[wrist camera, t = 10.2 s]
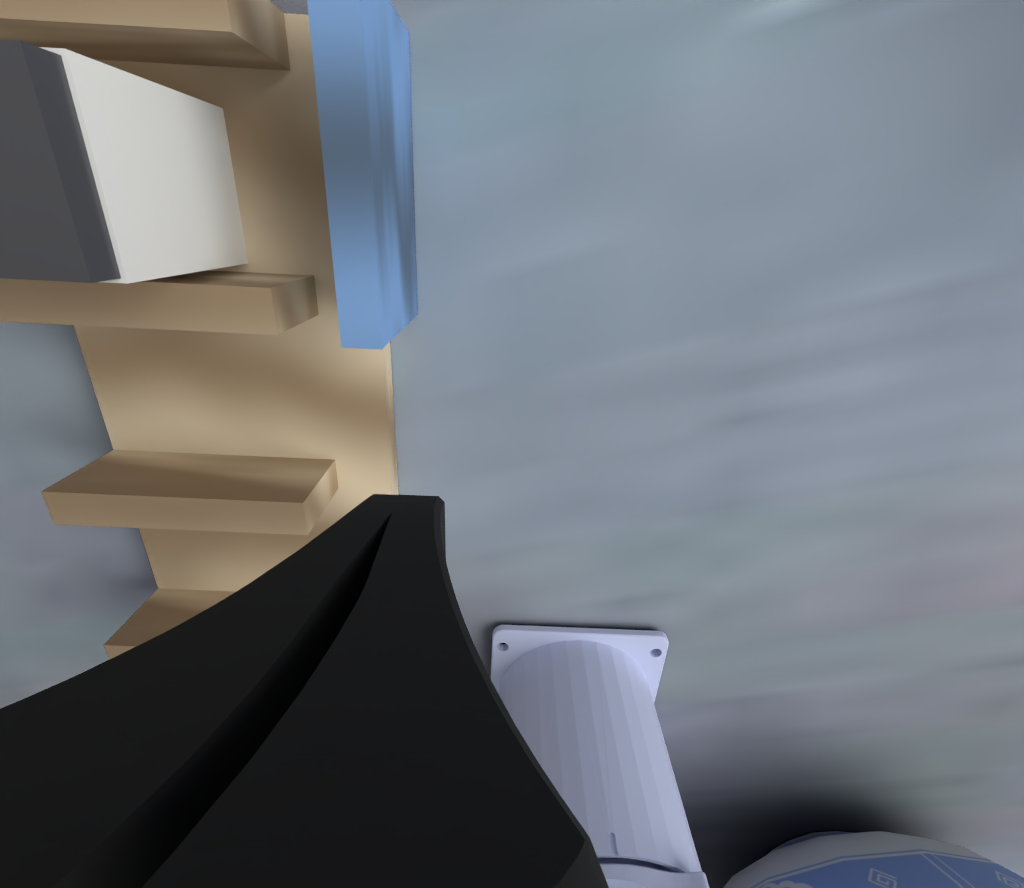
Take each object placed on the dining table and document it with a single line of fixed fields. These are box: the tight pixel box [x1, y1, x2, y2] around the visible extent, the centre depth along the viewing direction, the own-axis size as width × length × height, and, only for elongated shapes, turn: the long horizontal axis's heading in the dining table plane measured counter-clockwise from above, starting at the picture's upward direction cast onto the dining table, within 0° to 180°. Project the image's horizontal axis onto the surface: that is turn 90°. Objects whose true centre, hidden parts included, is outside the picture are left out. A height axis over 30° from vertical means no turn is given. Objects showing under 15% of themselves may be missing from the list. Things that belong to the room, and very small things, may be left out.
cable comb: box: [0, 0, 418, 660], centre depth 15 cm, size 20×11×5 cm, turn 177°
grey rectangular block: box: [0, 39, 248, 284], centre depth 12 cm, size 4×4×6 cm
